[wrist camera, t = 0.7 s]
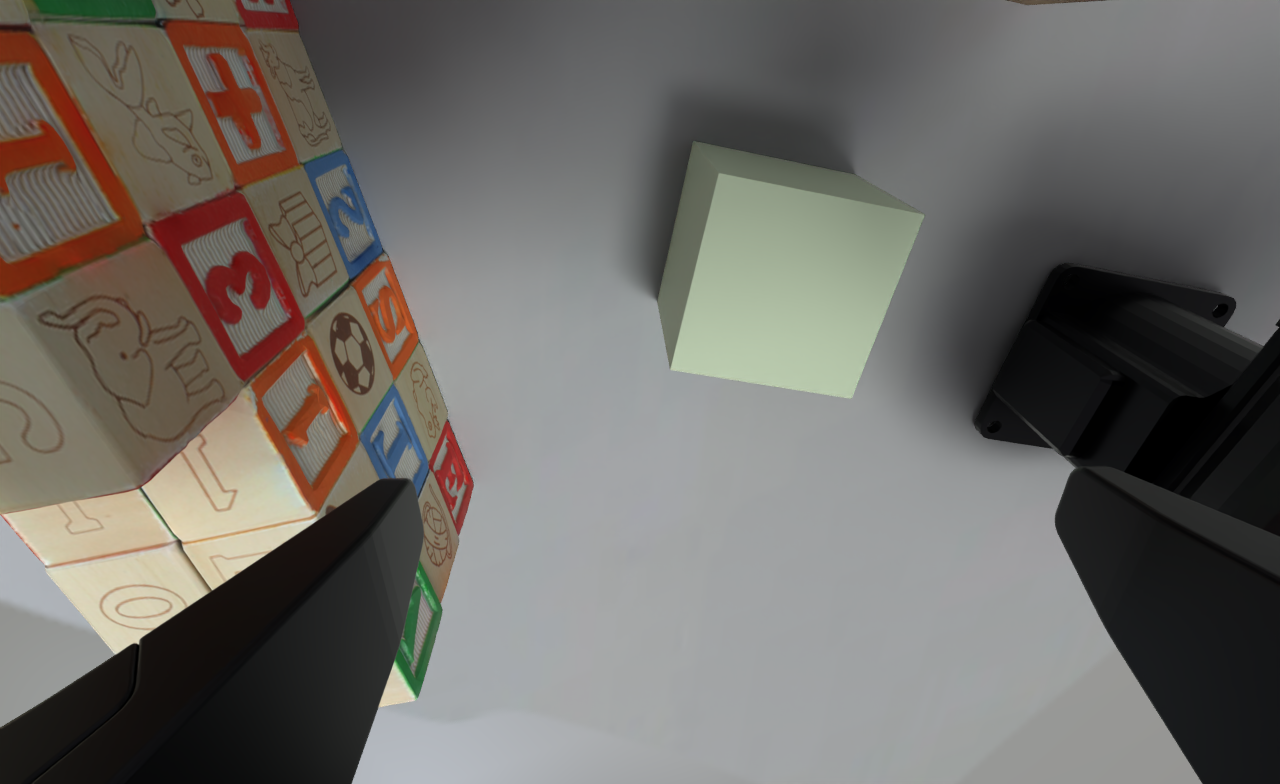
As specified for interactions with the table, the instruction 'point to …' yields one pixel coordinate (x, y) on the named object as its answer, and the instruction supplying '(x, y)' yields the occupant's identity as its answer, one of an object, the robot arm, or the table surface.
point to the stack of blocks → (196, 315)
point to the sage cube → (780, 271)
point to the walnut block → (1048, 1)
